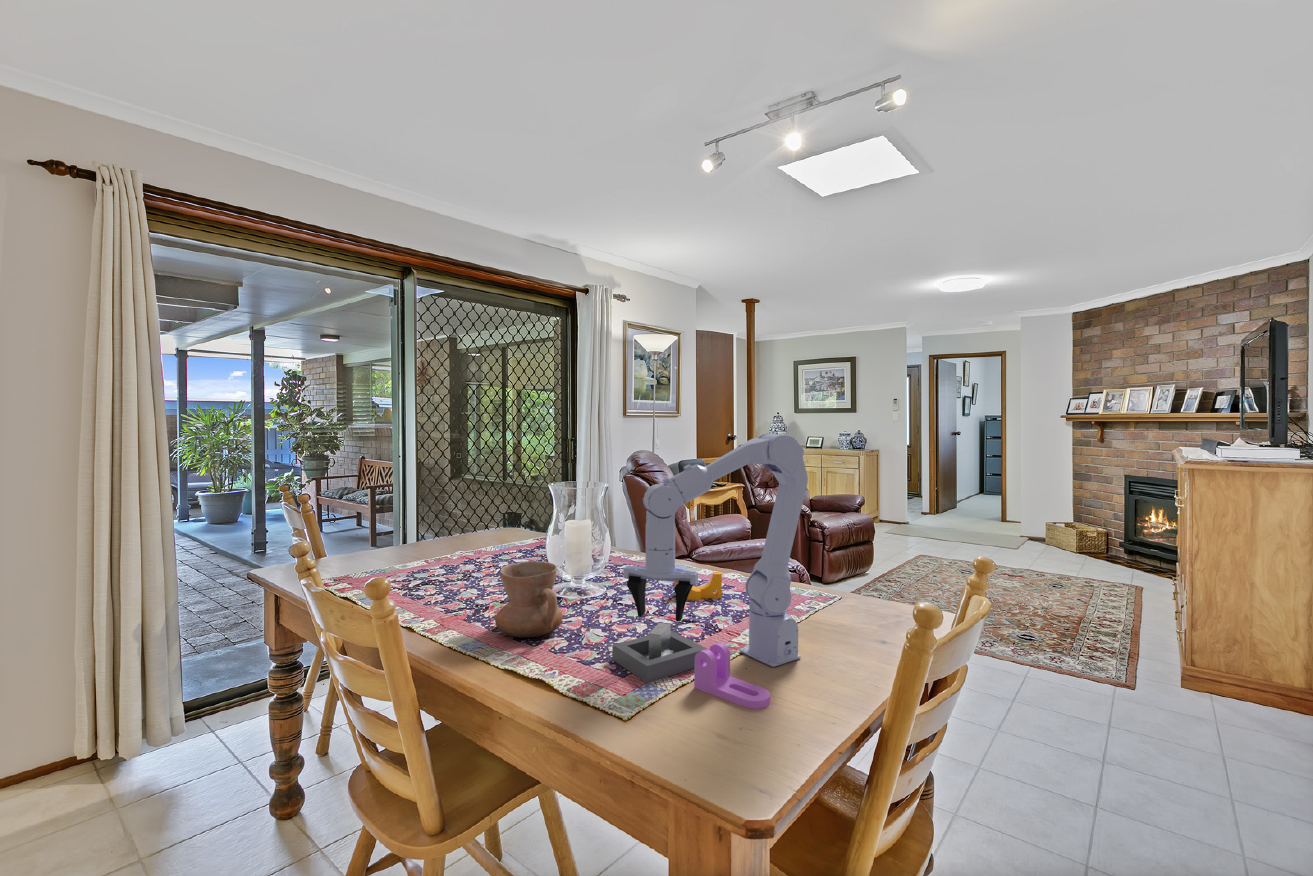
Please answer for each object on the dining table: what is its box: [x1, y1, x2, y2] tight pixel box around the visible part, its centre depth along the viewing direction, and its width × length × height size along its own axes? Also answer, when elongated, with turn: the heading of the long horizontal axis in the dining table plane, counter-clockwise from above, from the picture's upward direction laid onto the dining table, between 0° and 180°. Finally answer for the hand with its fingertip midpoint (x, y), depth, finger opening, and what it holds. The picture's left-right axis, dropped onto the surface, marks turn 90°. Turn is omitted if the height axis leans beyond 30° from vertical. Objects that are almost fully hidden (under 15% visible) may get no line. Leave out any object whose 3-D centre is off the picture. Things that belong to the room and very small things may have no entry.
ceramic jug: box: [494, 560, 564, 638], centre depth 130 cm, size 18×14×14 cm
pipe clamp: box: [674, 571, 723, 601], centre depth 155 cm, size 12×4×6 cm, turn 90°
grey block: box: [647, 622, 674, 660], centre depth 114 cm, size 4×6×6 cm, turn 161°
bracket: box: [693, 641, 771, 710], centre depth 102 cm, size 13×6×7 cm, turn 49°
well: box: [611, 630, 709, 683], centre depth 114 cm, size 12×14×3 cm
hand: (660, 617), depth 114 cm, fingers open, 7 cm apart
